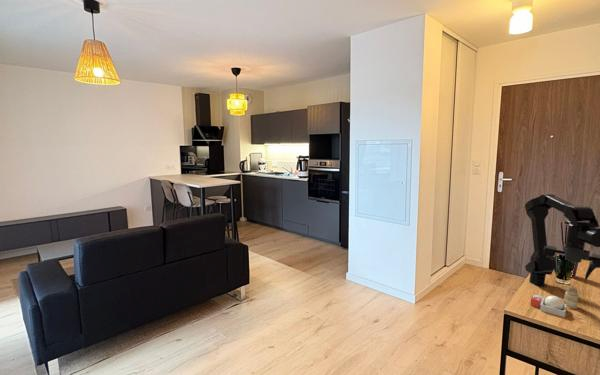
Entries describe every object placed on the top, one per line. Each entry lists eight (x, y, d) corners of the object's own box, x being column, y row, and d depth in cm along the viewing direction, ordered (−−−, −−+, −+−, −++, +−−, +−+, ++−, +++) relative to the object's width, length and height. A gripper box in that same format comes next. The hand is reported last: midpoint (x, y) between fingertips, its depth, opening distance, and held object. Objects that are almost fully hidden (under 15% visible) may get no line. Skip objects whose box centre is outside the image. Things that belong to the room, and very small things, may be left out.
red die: (531, 302, 129) (532, 294, 128) (540, 305, 127) (541, 297, 126) (530, 305, 127) (531, 297, 126) (539, 308, 125) (540, 300, 124)
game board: (534, 294, 138) (535, 286, 138) (577, 305, 129) (579, 297, 128) (528, 310, 125) (529, 301, 125) (576, 324, 116) (578, 315, 115)
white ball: (544, 304, 127) (546, 291, 126) (562, 309, 123) (564, 296, 123) (543, 310, 123) (544, 296, 122) (561, 315, 119) (563, 301, 118)
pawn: (561, 302, 129) (564, 284, 128) (573, 303, 128) (576, 286, 127) (566, 307, 125) (569, 289, 124) (578, 308, 124) (581, 290, 123)
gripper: (544, 237, 125) (538, 275, 127) (610, 249, 112) (602, 290, 115) (546, 231, 133) (541, 267, 135) (608, 241, 121) (602, 280, 123)
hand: (570, 275), depth 127 cm, fingers open, 9 cm apart
